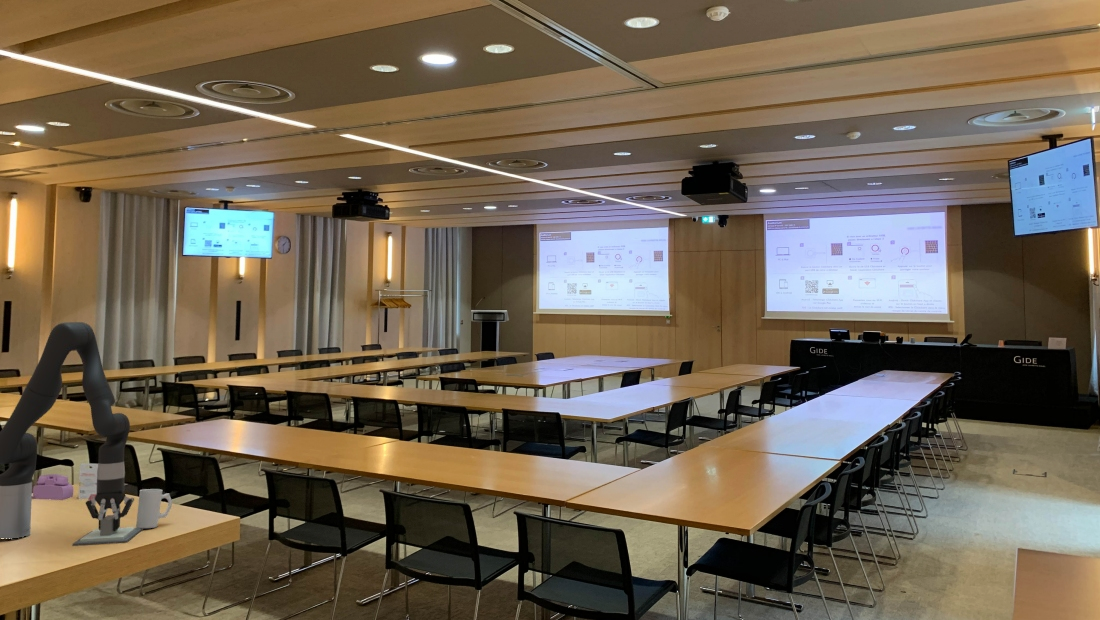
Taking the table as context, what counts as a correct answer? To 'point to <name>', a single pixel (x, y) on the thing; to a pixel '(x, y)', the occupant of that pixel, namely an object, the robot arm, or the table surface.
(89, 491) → the ink cartridge box
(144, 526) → the mug
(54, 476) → the toy telephone
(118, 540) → the rubber mat
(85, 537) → the cover plate
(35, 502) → the table surface
